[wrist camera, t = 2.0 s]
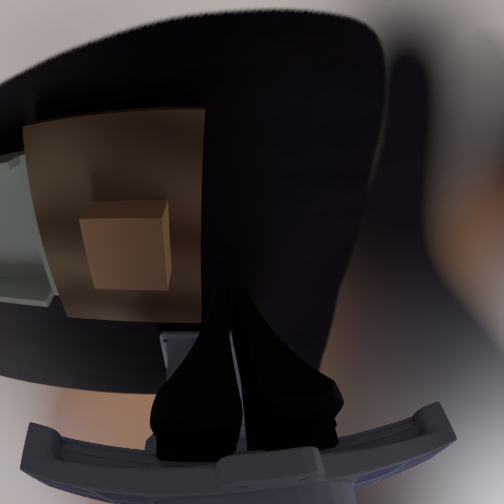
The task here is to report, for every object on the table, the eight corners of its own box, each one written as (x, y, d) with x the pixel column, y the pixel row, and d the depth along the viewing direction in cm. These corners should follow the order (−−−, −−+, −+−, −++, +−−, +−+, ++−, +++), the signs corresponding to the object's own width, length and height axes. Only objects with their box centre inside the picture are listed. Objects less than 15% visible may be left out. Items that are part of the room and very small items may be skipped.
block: (171, 267, 20) (168, 290, 18) (104, 266, 19) (94, 288, 17) (168, 200, 17) (162, 218, 15) (93, 201, 16) (78, 219, 14)
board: (201, 306, 25) (201, 322, 23) (74, 301, 23) (67, 316, 21) (205, 107, 16) (204, 109, 15) (37, 121, 14) (22, 126, 13)
